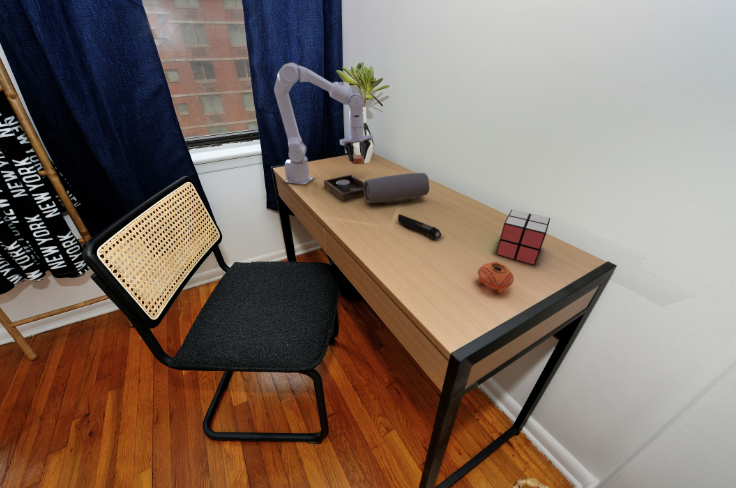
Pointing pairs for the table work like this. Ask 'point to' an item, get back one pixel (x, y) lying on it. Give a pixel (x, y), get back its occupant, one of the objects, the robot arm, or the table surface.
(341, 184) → the gray and black puck
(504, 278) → the pot
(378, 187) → the bluetooth speaker
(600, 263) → the table surface
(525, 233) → the puzzle cube
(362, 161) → the terracotta coaster
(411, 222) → the electric trimmer
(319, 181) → the table surface
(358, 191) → the dark brown tray
